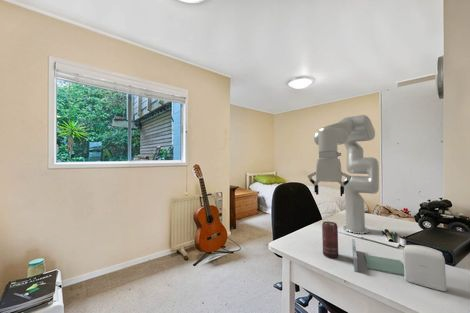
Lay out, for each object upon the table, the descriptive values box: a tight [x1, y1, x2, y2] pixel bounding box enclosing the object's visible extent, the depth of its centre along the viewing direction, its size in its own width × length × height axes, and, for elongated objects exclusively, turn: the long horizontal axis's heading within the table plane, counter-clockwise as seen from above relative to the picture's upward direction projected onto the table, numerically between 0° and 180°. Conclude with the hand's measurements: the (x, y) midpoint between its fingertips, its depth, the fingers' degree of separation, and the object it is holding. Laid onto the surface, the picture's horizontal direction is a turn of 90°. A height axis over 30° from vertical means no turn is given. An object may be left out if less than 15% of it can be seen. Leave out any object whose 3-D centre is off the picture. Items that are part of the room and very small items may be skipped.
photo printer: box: [402, 244, 447, 292], centre depth 68 cm, size 10×4×12 cm, turn 49°
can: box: [321, 221, 339, 259], centre depth 90 cm, size 6×6×14 cm
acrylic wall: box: [351, 238, 359, 273], centre depth 85 cm, size 20×1×5 cm, turn 152°
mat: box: [364, 254, 404, 277], centre depth 81 cm, size 12×12×1 cm
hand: (329, 195), depth 90 cm, fingers open, 9 cm apart
